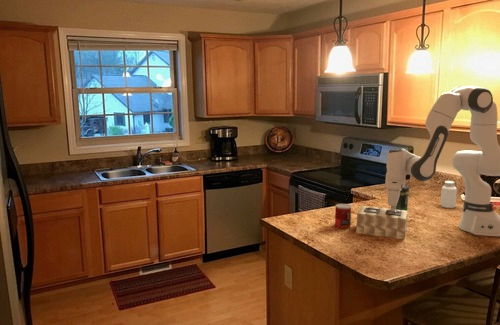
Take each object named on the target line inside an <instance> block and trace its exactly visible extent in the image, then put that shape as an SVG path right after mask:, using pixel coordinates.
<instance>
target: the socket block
mask: <svg viewBox="0 0 500 325" xmlns="http://www.w3.org/2000/svg"><path fill="white" fill-rule="evenodd" d="M389 210H391V208H385V207H375V206H367V205H361V206H360V208H359V210H358V211H357V213H356V227H355V228H356V232H355V233H356V234H361V235H369V236H375V237H383V238H390V239H398V240H405V237H406V234H407V226H408V212H409V211H408V210H407V211H405V210H398V214H390V213H389Z"/></svg>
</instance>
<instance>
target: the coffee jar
mask: <svg viewBox="0 0 500 325" xmlns="http://www.w3.org/2000/svg"><path fill="white" fill-rule="evenodd" d="M409 193H410V186H409V185H408V184H406V183H405V187H403V188H402V190H401V191H400V196H399V199H398V202H397V206H396V210H405V211H408V203H409Z"/></svg>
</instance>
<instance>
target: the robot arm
mask: <svg viewBox="0 0 500 325" xmlns="http://www.w3.org/2000/svg"><path fill="white" fill-rule="evenodd" d="M493 98H494V96H493V94H492V92H491V91H490V90H489V89H488V88H485V87H480V86H473V85H469V86H468V85H467V86H462V85H461V86H455V87H454V88H452V89H451V90H450V91H447V92H443V93H441V95H440V96H439V97H438V98H437V100H436V101H435V103H434V104H433V105H432V107H431V109H430V111H429V112H428V114H427V117H426V120H425V128H426V130H427V131H428V134H429V141H428V143H427V146H426V148H425V150H424V153H423V155H422V156H419V155H416V154H414V153H411V152H410V151H408V150H407V149H406V148H402V147H401V148H400V147H399V148H398V147H397V148H392V149H391V150H389V151H388V153H387V156H386V157H387V158H386V159H387V160H386V173H385V181H384V182H385V184H384V185H385V188H386V190H387V204H388V206H389V207H390V209H391V211H395V210H396V206H397V202H398V199H399V196H400V191H401V190H402V188H403V187H405V184H406V176H407V175H409V176H411V177H413V178H414V179H416V180H417V181H419V182H426V181H429V180H431V179H432V178H433V177H434V175H435V174H436V171H437V163H438V160H439V157H440V156H441V154H442V151H443V148H444V146H445V144H446V141H447V138H448V135H449V131H450V130H451V127H452V125H453V123H454V120H455V118H456V117H457V115H458V113H459V112H460V111H461V110H462V111H469V112H470V114H471V117H470V125H469V126H470V128H469V129H470V130H469V139H470V141H471V142H472V143H474V144H475V145H477V146H478V147H479V148H480V149H481V151H479V150H470V149H469V150H458V151H456V152H455V154H453V156H452V159H451V164H452V167H453V168H454V169H455V170H456V171H457V172H458V173H459V175H461V177H462V180H463V182H464V187H465V188H464V189H465V190H464V199H463V203H462V214H461V220H460V221H459V222H460V223H459V225H458V228H459V229H460V230H461V231H464V232H467V233H469V234H473V235H475V236H486V237H487V236H488V237H500V215H499V214H498V213H497V212H496V210H497V206H496V205H495V204H494V203H492V202H491V199H492V187H491V185H490V184H489V183H487V181H484V180H483V179H482V178H481V175H484V176H491V177H492V176H493V177H500V145H499V142H498V141H499V140H498V120H499V118H498V107H497V104H496V102H495V101H494V99H493Z"/></svg>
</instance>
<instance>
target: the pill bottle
mask: <svg viewBox="0 0 500 325" xmlns="http://www.w3.org/2000/svg"><path fill="white" fill-rule="evenodd" d="M455 184H456V182H455V181H452V180H445V181H444V185H443V186H442V187H441V194H440V196H441V197H440V206H441V207H442V208H445V209H446V208H447V209H454V208H456V205H457V204H456V203H457V202H456V201H457V192H458V191H457V190H458V189H457V187H456V186H455Z"/></svg>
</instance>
